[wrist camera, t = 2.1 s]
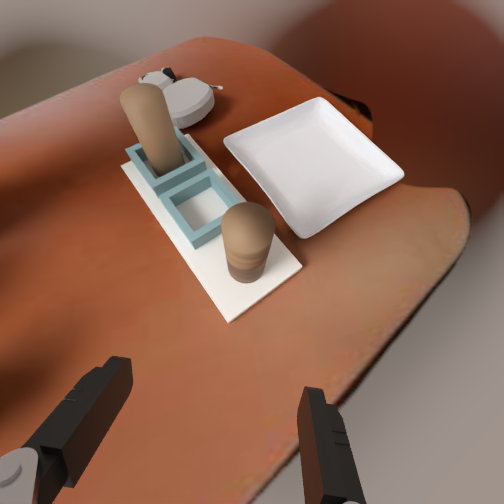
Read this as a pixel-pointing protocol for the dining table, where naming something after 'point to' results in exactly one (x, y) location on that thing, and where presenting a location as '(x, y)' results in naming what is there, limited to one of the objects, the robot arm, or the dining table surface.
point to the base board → (193, 202)
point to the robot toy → (183, 96)
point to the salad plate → (312, 164)
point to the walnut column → (247, 240)
